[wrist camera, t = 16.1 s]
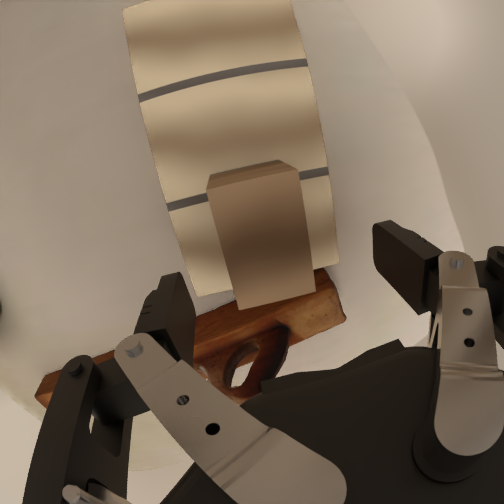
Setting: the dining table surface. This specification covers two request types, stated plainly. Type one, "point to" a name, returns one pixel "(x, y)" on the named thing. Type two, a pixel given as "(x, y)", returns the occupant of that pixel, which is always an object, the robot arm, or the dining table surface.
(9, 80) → the dining table surface
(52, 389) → the hand plane
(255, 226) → the block
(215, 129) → the board
